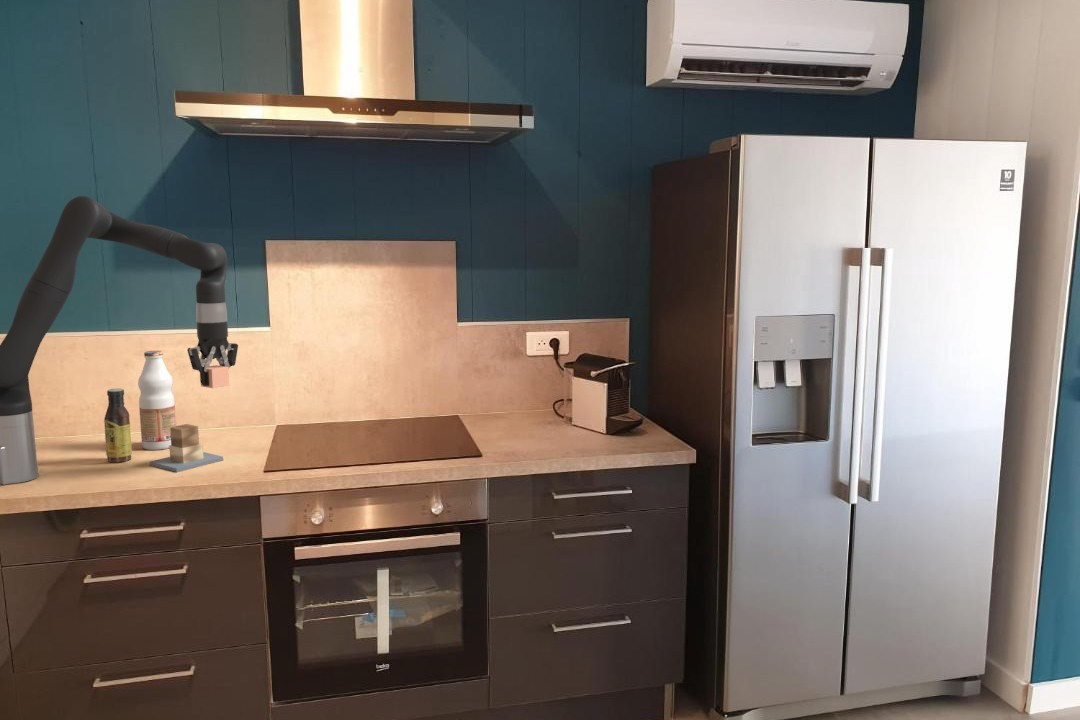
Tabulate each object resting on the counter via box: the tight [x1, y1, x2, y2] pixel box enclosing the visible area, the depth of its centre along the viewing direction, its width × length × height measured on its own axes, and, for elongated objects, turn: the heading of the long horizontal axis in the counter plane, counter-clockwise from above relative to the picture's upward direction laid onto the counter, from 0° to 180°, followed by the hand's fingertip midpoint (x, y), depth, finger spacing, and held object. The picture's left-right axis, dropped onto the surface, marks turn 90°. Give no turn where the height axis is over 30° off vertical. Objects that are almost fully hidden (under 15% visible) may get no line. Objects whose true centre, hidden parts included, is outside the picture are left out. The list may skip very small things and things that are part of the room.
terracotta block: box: [200, 364, 230, 389], centre depth 220 cm, size 5×5×5 cm
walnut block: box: [170, 423, 200, 448], centre depth 225 cm, size 5×5×5 cm
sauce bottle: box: [104, 387, 133, 464], centre depth 227 cm, size 6×6×20 cm
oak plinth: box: [168, 442, 204, 463], centre depth 226 cm, size 6×6×4 cm
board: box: [149, 451, 224, 473], centre depth 226 cm, size 14×12×1 cm
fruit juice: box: [137, 350, 177, 451], centre depth 241 cm, size 9×9×28 cm
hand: (215, 383), depth 220 cm, fingers closed on terracotta block, 5 cm apart
